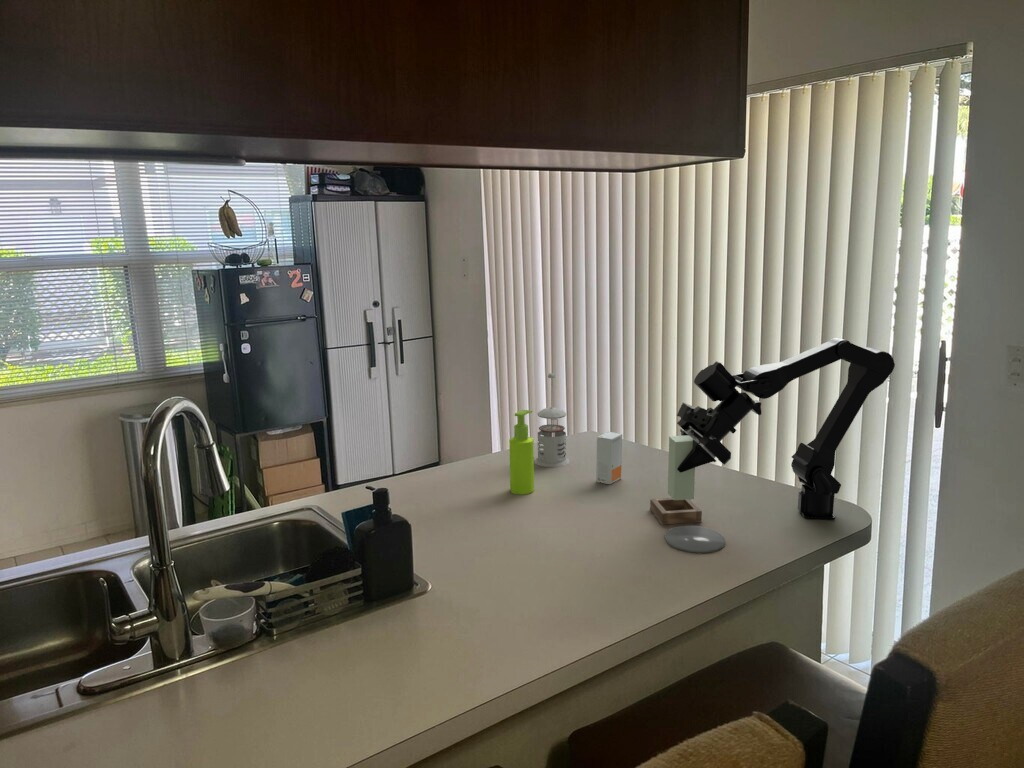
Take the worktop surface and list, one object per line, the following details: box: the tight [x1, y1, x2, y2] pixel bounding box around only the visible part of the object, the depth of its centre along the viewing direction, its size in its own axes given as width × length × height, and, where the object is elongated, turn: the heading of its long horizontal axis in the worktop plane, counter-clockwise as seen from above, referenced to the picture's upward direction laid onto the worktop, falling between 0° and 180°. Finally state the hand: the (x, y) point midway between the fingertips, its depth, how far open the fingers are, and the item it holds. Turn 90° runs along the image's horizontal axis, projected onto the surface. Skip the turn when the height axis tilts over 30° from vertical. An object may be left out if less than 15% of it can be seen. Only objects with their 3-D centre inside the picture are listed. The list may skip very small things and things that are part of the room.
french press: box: [534, 372, 571, 468], centre depth 200 cm, size 10×12×25 cm
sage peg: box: [667, 435, 696, 500], centre depth 156 cm, size 4×4×13 cm
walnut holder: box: [649, 497, 703, 525], centre depth 162 cm, size 9×9×2 cm
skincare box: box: [595, 431, 623, 485], centre depth 184 cm, size 6×4×12 cm
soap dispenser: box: [508, 409, 535, 496], centre depth 178 cm, size 6×7×20 cm
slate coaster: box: [664, 525, 726, 554], centre depth 149 cm, size 12×12×1 cm
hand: (675, 467), depth 156 cm, fingers closed on sage peg, 4 cm apart
